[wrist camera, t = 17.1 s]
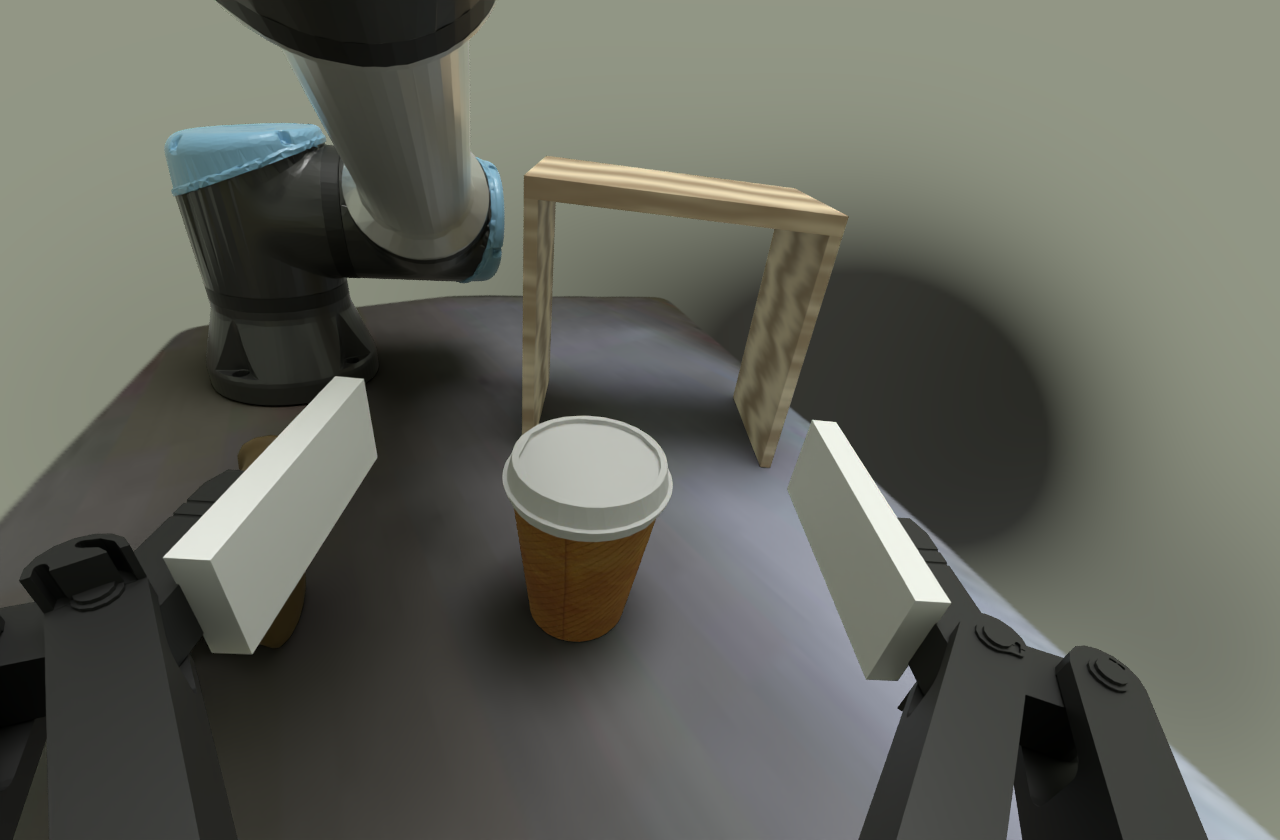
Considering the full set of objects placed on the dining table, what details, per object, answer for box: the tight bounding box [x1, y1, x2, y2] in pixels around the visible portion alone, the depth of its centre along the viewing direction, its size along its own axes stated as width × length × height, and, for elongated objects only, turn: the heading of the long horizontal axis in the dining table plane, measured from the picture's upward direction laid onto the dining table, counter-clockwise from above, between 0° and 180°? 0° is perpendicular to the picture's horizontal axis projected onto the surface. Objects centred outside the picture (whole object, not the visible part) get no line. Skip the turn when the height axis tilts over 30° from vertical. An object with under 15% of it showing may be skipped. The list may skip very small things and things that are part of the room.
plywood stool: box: [522, 156, 848, 468], centre depth 50 cm, size 14×24×24 cm, turn 92°
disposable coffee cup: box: [502, 416, 673, 642], centre depth 32 cm, size 10×10×12 cm
